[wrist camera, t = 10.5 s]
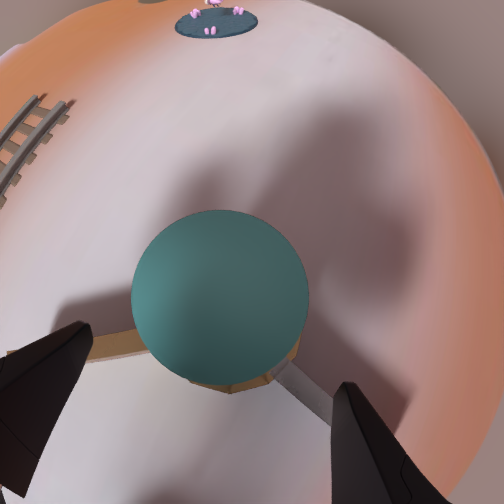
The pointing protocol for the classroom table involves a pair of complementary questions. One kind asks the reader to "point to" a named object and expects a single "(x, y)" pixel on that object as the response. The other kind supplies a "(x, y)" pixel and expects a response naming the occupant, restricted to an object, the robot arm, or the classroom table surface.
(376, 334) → the classroom table surface
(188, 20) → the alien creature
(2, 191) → the model train track
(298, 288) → the teal hinge pin
